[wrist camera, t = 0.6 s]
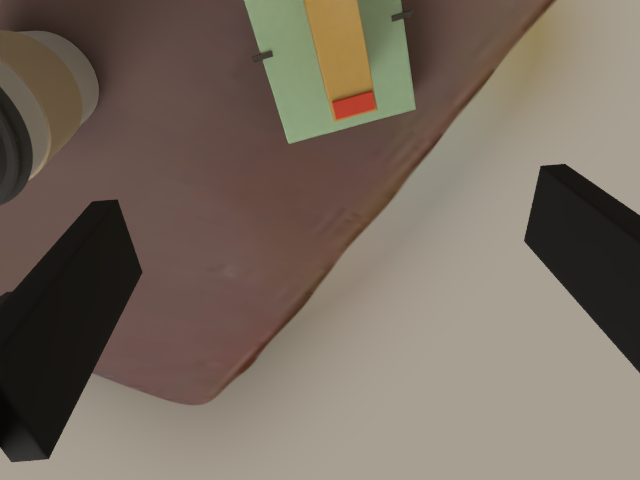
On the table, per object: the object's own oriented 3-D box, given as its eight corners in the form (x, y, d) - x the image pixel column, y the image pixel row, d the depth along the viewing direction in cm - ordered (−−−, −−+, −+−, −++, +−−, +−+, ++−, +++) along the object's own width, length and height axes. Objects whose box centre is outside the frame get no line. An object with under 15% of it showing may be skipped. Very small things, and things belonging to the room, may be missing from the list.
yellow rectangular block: (298, -16, 28) (301, -13, 21) (338, -28, 27) (352, -29, 21) (325, 92, 31) (334, 123, 25) (360, 82, 31) (378, 111, 24)
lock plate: (224, -49, 29) (217, -51, 26) (387, -100, 28) (397, -108, 25) (281, 134, 36) (280, 147, 33) (414, 97, 35) (424, 107, 32)
